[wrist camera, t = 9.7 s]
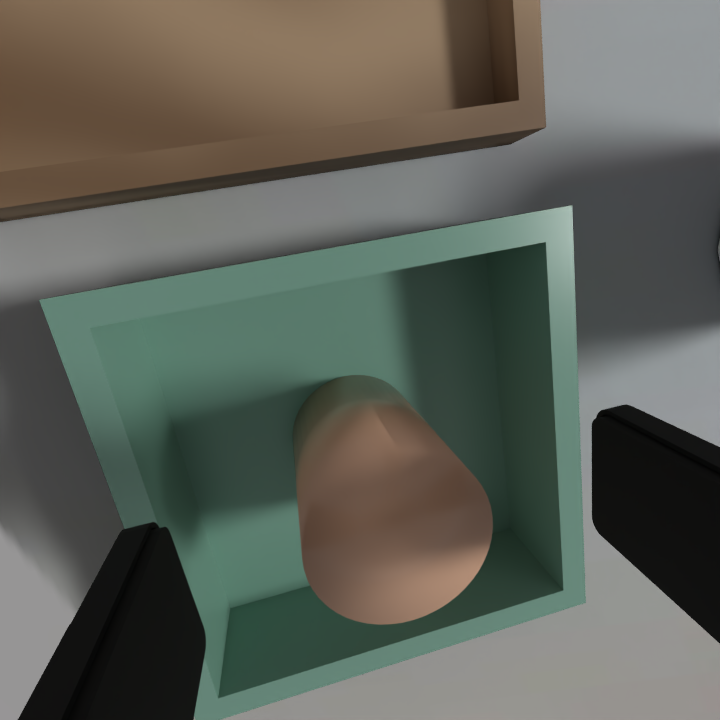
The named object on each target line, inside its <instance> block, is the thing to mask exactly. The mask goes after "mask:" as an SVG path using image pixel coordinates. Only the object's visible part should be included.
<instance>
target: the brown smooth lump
mask: <svg viewBox="0 0 720 720" xmlns="http://www.w3.org/2000/svg"><path fill="white" fill-rule="evenodd" d="M292 435H293V453H294V465H295V478H296V490H297V503H298V515H299V527H300V540H301V552H302V561H303V567H304V571H305V574H306V577H307V580H308V582H309V584H310V586H311V588H312V590H313V591H314V592H315V594H316V595H317V596H318V598H319V599H320V600H321V601H322V602H323V603H324V604H325V605H326V606H328V607H329V608H330V609H332V610H333V611H335V612H336V613H338V614H340V615H342V616H344V617H346V618H349V619H352V620H354V621H358V622H362V623H367V624H378V625H384V624H397V623H403V622H407V621H411V620H415V619H418V618H420V617H423V616H426V615H428V614H430V613H432V612H434V611H436V610H438V609H440V608H441V607H443V606H444V605H446V604H448V603H449V602H450V601H451V600H453V599H454V598H455V597H457V596H458V595H459V594H460V593H461V592H462V591H463V590H464V589H465V588H466V587H467V586H468V585H469V583H470V582H471V581H472V580H473V579H474V577H475V576H476V574H477V573H478V571H479V570H480V568H481V566H482V564H483V562H484V560H485V558H486V555H487V553H488V550H489V547H490V543H491V539H492V530H493V516H492V511H491V505H490V502H489V499H488V496H487V494H486V492H485V490H484V489H483V487H482V485H481V484H480V482H479V481H478V480H477V478H476V477H475V476H474V475H473V474H472V473H471V472H470V470H469V469H468V468H467V467H466V466H465V465H464V464H463V463H462V461H461V460H460V459H459V458H458V457H457V456H456V455H455V454H454V452H453V451H452V450H451V449H450V448H449V447H448V446H447V445H446V444H445V442H444V441H443V440H442V439H441V438H440V437H439V436H438V435H437V433H436V432H435V431H434V430H433V429H432V428H431V427H430V426H429V424H428V423H427V422H426V421H425V420H424V419H423V418H422V417H421V415H420V414H419V413H418V412H417V411H416V410H415V409H414V408H413V406H412V405H411V404H410V403H409V402H408V401H407V400H406V399H405V398H404V396H403V395H402V394H401V393H400V392H399V391H398V390H397V389H396V388H395V387H393V386H392V385H391V384H389V383H387V382H385V381H383V380H381V379H378V378H376V377H372V376H366V375H350V376H343V377H340V378H336V379H334V380H331V381H329V382H327V383H325V384H324V385H322V386H320V387H319V388H318V389H316V390H315V391H314V392H313V393H312V394H311V395H310V396H309V397H308V398H307V399H306V400H305V402H304V403H303V404H302V406H301V408H300V410H299V411H298V414H297V416H296V419H295V422H294V426H293V433H292Z"/></svg>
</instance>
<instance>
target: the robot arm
mask: <svg viewBox="0 0 720 720" xmlns="http://www.w3.org/2000/svg"><path fill="white" fill-rule="evenodd" d="M592 520H593V523H594V526H595V528H596V530H597V531H598V533H599V534H600V535H601V536H602V537H603V538H604V539H606V540H607V541H608V542H609V543H610V544H611V545H612V546H613V547H614V548H615V549H616V550H618V551H619V552H620V553H621V554H622V555H623V556H624V557H625V558H626V559H627V560H629V561H630V562H631V563H632V564H633V565H634V566H635V567H636V568H637V569H638V570H640V571H641V572H642V573H643V574H644V575H645V576H646V577H647V578H648V579H649V580H651V581H652V582H653V583H654V584H655V585H656V586H657V587H658V588H659V589H660V590H662V591H663V592H664V593H665V594H666V595H667V596H668V597H669V598H670V599H671V600H673V601H674V602H675V603H676V604H677V605H678V606H679V607H680V608H681V609H682V610H684V611H685V612H686V613H687V614H688V615H689V616H690V617H691V618H692V619H693V620H695V621H696V622H697V623H698V624H699V625H700V626H701V627H702V628H703V629H704V630H706V631H707V632H708V633H709V634H710V635H711V636H712V637H713V638H714V639H715V640H717V641H718V642H719V643H720V447H718V446H716V445H714V444H712V443H709V442H707V441H705V440H703V439H701V438H699V437H697V436H694V435H692V434H690V433H688V432H686V431H684V430H682V429H679V428H677V427H675V426H673V425H671V424H669V423H667V422H664V421H662V420H660V419H658V418H656V417H654V416H652V415H649V414H647V413H645V412H643V411H641V410H639V409H636V408H634V407H632V406H629V405H621V406H617V407H613V408H609V409H605V410H601V411H600V412H599V413H598V415H597V418H596V419H594V420H593V422H592ZM205 650H206V635H205V629H204V626H203V623H202V620H201V618H200V615H199V612H198V609H197V606H196V604H195V601H194V598H193V595H192V592H191V590H190V587H189V584H188V581H187V578H186V576H185V573H184V570H183V567H182V564H181V561H180V559H179V556H178V553H177V550H176V547H175V545H174V542H173V539H172V536H171V533H170V531H169V529H168V528H167V527H161V528H159V526H158V524H157V523H155V522H151V523H147V524H143V525H139V526H135V527H131V528H127V529H124V530H122V531H121V532H120V534H119V535H118V537H117V539H116V541H115V543H114V545H113V547H112V548H111V550H110V552H109V554H108V556H107V558H106V560H105V561H104V563H103V565H102V567H101V569H100V571H99V572H98V574H97V576H96V578H95V580H94V582H93V584H92V585H91V587H90V589H89V591H88V593H87V595H86V597H85V598H84V600H83V602H82V604H81V606H80V608H79V610H78V611H77V613H76V615H75V617H74V619H73V621H72V622H71V624H70V625H69V627H68V628H67V630H66V632H65V634H64V636H63V637H62V639H61V641H60V643H59V645H58V647H57V649H56V650H55V652H54V654H53V656H52V658H51V660H50V662H49V663H48V665H47V667H46V669H45V671H44V673H43V674H42V676H41V678H40V680H39V682H38V684H37V685H36V687H35V689H34V691H33V693H32V695H31V697H30V698H29V700H28V702H27V704H26V706H25V708H24V710H23V711H22V713H21V715H20V717H19V719H18V720H193V719H194V713H195V708H196V702H197V696H198V691H199V685H200V679H201V673H202V668H203V662H204V656H205Z"/></svg>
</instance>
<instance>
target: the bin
mask: <svg viewBox="0 0 720 720" xmlns="http://www.w3.org/2000/svg"><path fill="white" fill-rule="evenodd" d="M39 301H40V304H41V306H42V309H43V312H44V314H45V317H46V320H47V322H48V325H49V328H50V331H51V333H52V336H53V339H54V341H55V344H56V347H57V349H58V352H59V355H60V357H61V360H62V363H63V365H64V368H65V371H66V373H67V376H68V379H69V381H70V384H71V387H72V390H73V392H74V395H75V398H76V400H77V403H78V406H79V408H80V411H81V414H82V416H83V419H84V422H85V424H86V427H87V430H88V432H89V435H90V438H91V441H92V443H93V446H94V449H95V451H96V454H97V457H98V459H99V462H100V465H101V467H102V470H103V473H104V475H105V478H106V481H107V483H108V486H109V489H110V492H111V494H112V497H113V500H114V502H115V505H116V508H117V510H118V513H119V516H120V518H121V521H122V524H123V526H124V529H127V528H131V527H135V526H139V525H143V524H147V523H151V522H155V523H157V524H158V526H159V528H161V527H167V528H168V529H169V531H170V533H171V536H172V539H173V542H174V545H175V547H176V550H177V553H178V556H179V559H180V561H181V564H182V567H183V570H184V573H185V576H186V578H187V581H188V584H189V587H190V590H191V592H192V595H193V598H194V601H195V604H196V606H197V609H198V612H199V615H200V618H201V620H202V623H203V626H204V629H205V635H206V650H205V656H204V662H203V668H202V673H201V679H200V685H199V691H198V696H197V702H196V708H195V713H194V717H195V720H220V719H223V718H226V717H230V716H233V715H236V714H239V713H242V712H245V711H248V710H252V709H255V708H258V707H261V706H264V705H267V704H270V703H273V702H277V701H280V700H283V699H286V698H289V697H292V696H295V695H298V694H302V693H305V692H308V691H311V690H314V689H317V688H320V687H323V686H327V685H330V684H333V683H336V682H339V681H342V680H345V679H348V678H352V677H355V676H358V675H361V674H364V673H367V672H370V671H374V670H377V669H380V668H383V667H386V666H389V665H392V664H395V663H399V662H402V661H405V660H408V659H411V658H414V657H417V656H420V655H424V654H427V653H430V652H433V651H436V650H439V649H442V648H445V647H449V646H452V645H455V644H458V643H461V642H464V641H467V640H470V639H474V638H477V637H480V636H483V635H486V634H489V633H492V632H496V631H499V630H502V629H505V628H508V627H511V626H514V625H517V624H521V623H524V622H527V621H530V620H533V619H536V618H539V617H542V616H546V615H549V614H552V613H555V612H558V611H561V610H564V609H567V608H571V607H574V606H577V605H580V604H583V603H586V597H585V568H584V538H583V509H582V479H581V450H580V420H579V391H578V361H577V331H576V302H575V272H574V243H573V213H572V205H571V206H565V207H559V208H553V209H548V210H542V211H536V212H530V213H524V214H518V215H512V216H506V217H500V218H494V219H489V220H483V221H478V222H472V223H466V224H461V225H455V226H449V227H444V228H438V229H432V230H427V231H421V232H415V233H410V234H404V235H399V236H393V237H387V238H382V239H376V240H370V241H365V242H359V243H353V244H348V245H342V246H336V247H331V248H325V249H319V250H314V251H308V252H303V253H297V254H291V255H286V256H280V257H274V258H269V259H263V260H257V261H252V262H246V263H240V264H235V265H229V266H224V267H218V268H212V269H207V270H201V271H195V272H190V273H184V274H178V275H173V276H167V277H161V278H156V279H150V280H145V281H139V282H133V283H128V284H122V285H116V286H111V287H105V288H100V289H95V290H89V291H84V292H79V293H73V294H68V295H63V296H57V297H52V298H47V299H41V300H39ZM350 375H366V376H372V377H376V378H378V379H381V380H383V381H385V382H387V383H389V384H391V385H392V386H393V387H395V388H396V389H397V390H398V391H399V392H400V393H401V394H402V395H403V396H404V398H405V399H406V400H407V401H408V402H409V403H410V404H411V405H412V406H413V408H414V409H415V410H416V411H417V412H418V413H419V414H420V415H421V417H422V418H423V419H424V420H425V421H426V422H427V423H428V424H429V426H430V427H431V428H432V429H433V430H434V431H435V432H436V433H437V435H438V436H439V437H440V438H441V439H442V440H443V441H444V442H445V444H446V445H447V446H448V447H449V448H450V449H451V450H452V451H453V452H454V454H455V455H456V456H457V457H458V458H459V459H460V460H461V461H462V463H463V464H464V465H465V466H466V467H467V468H468V469H469V470H470V472H471V473H472V474H473V475H474V476H475V477H476V478H477V480H478V481H479V482H480V484H481V485H482V487H483V489H484V490H485V492H486V494H487V496H488V499H489V502H490V505H491V511H492V516H493V530H492V539H491V543H490V547H489V550H488V553H487V555H486V558H485V560H484V562H483V564H482V566H481V568H480V570H479V571H478V573H477V574H476V576H475V577H474V579H473V580H472V581H471V582H470V583H469V585H468V586H467V587H466V588H465V589H464V590H463V591H462V592H461V593H460V594H459V595H458V596H457V597H455V598H454V599H453V600H451V601H450V602H449V603H448V604H446V605H444V606H443V607H441V608H440V609H438V610H436V611H434V612H432V613H430V614H428V615H426V616H423V617H420V618H418V619H415V620H411V621H407V622H403V623H397V624H384V625H378V624H367V623H362V622H358V621H354V620H352V619H349V618H346V617H344V616H342V615H340V614H338V613H336V612H335V611H333V610H332V609H330V608H329V607H328V606H326V605H325V604H324V603H323V602H322V601H321V600H320V599H319V598H318V596H317V595H316V594H315V592H314V591H313V590H312V588H311V586H310V584H309V582H308V580H307V577H306V574H305V571H304V567H303V561H302V552H301V540H300V527H299V515H298V503H297V490H296V478H295V465H294V453H293V435H292V433H293V426H294V422H295V419H296V416H297V414H298V411H299V410H300V408H301V406H302V404H303V403H304V402H305V400H306V399H307V398H308V397H309V396H310V395H311V394H312V393H313V392H314V391H315V390H316V389H318V388H319V387H320V386H322V385H324V384H325V383H327V382H329V381H331V380H334V379H336V378H340V377H343V376H350Z"/></svg>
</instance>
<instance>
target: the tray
mask: <svg viewBox="0 0 720 720" xmlns="http://www.w3.org/2000/svg"><path fill="white" fill-rule="evenodd" d="M545 127H546V117H545V95H544V74H543V53H542V32H541V11H540V0H0V222H3V221H10V220H16V219H23V218H29V217H36V216H42V215H49V214H55V213H62V212H69V211H75V210H82V209H88V208H95V207H101V206H108V205H115V204H121V203H128V202H134V201H141V200H147V199H154V198H160V197H167V196H174V195H180V194H187V193H193V192H200V191H206V190H213V189H220V188H226V187H233V186H239V185H246V184H252V183H259V182H265V181H272V180H279V179H285V178H292V177H298V176H305V175H311V174H318V173H324V172H331V171H338V170H344V169H351V168H357V167H364V166H370V165H377V164H384V163H390V162H397V161H403V160H410V159H416V158H423V157H429V156H436V155H443V154H449V153H456V152H462V151H469V150H475V149H482V148H489V147H495V146H502V145H508V144H512V143H514V142H516V141H518V140H520V139H522V138H524V137H527V136H529V135H531V134H533V133H535V132H537V131H539V130H541V129H543V128H545Z"/></svg>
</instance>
